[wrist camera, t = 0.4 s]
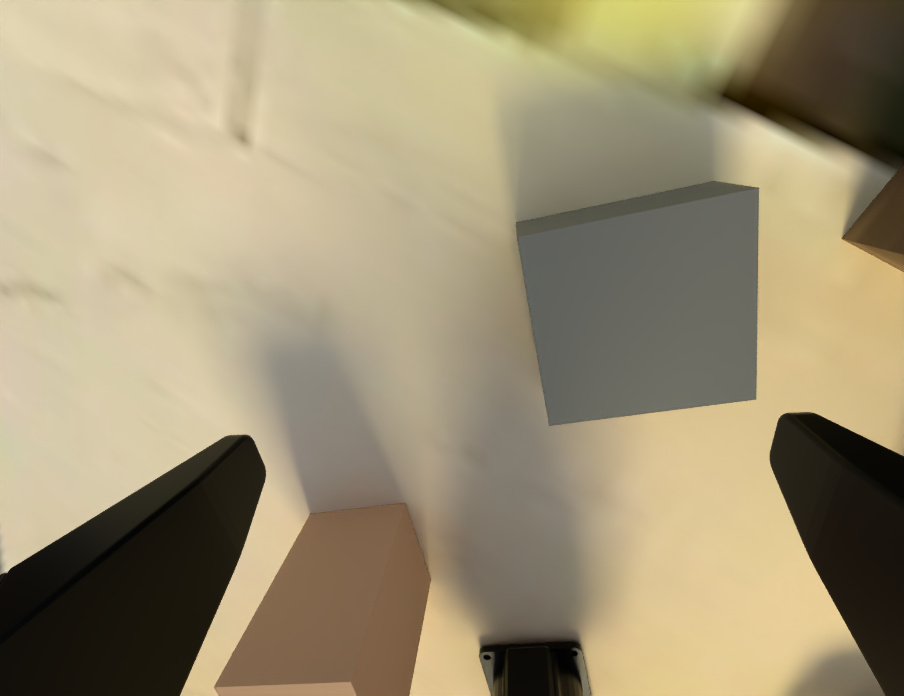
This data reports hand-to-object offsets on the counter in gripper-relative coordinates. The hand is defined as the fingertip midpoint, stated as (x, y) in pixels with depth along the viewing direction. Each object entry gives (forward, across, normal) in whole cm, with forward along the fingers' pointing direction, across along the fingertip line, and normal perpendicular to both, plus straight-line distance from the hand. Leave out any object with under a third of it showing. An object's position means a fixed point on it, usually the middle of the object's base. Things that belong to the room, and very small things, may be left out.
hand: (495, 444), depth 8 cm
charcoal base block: (+14, -5, +4) cm, 15 cm away
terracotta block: (+12, +9, +18) cm, 24 cm away
